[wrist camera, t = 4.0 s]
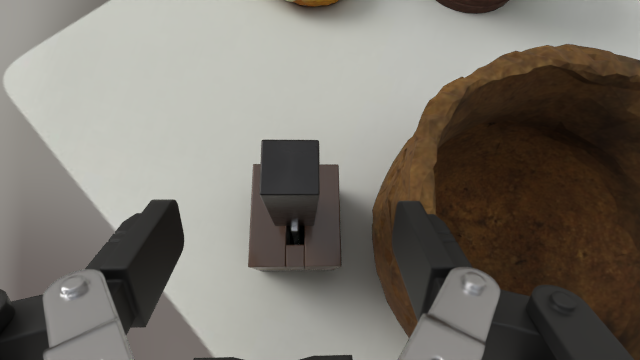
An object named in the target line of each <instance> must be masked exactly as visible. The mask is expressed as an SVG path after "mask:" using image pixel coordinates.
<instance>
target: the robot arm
mask: <svg viewBox="0 0 640 360" xmlns="http://www.w3.org/2000/svg"><path fill="white" fill-rule="evenodd" d="M183 247H184V233H183V228H182V223H181V218H180V213H179V208H178V204H177V202H176V200H151V201H150V203H149V204H148V205H147V207H146V208H145V209H144V210H143V212H142V213H136V214H135V215H133V216H132V217H130V218H129V219H127V220H126V221H124V222H123V223H122V224H121V225H120V227H119V228H118V229H117V230H116V231H115V234H113V235H112V236H111V238H110V239H109V242H107V243H106V244H105V245H104V246H103V247H102V249H101V250H100V251H99V252H98V254H97V255H96V256H95V257H94V259H93V260H92V261H91V262H90V263H89V265H88V266H87V267H86V268H85V270H80V271H75V272H72V273H70V274H67V275H65V276H63V277H61V278H59V279H58V280H56V281H55V282H53V283H52V284H51V285H50V286H49V287H48V288H47V289H46V291H45V292H44V294H43V295H39V296H34V297H30V298H25V299H21V300H16V301H12V302H11V301H10V299H9V298H8V296H7V294H6V292H5V291H3V290H1V289H0V360H135V359H134V357H133V354H132V351H131V348H130V346H129V343H128V340H127V337H126V335H127V333H128V331H129V329H130V328H131V327H146V325H147V323H148V321H149V319H150V317H151V315H152V313H153V311H154V309H155V306H156V304H157V303H158V300H159V298H160V296H161V294H162V292H163V290H164V288H165V286H166V284H167V282H168V280H169V278H170V276H171V274H172V272H173V270H174V268H175V265H176V263H177V261H178V259H179V257H180V255H181V253H182V251H183ZM392 248H393V252H394V255H395V258H396V261H397V264H398V267H399V270H400V272H401V275H402V278H403V281H404V284H405V287H406V290H407V293H408V296H409V298H410V301H411V304H412V307H413V310H414V313H415V316H416V319H417V322H418V323H417V325H416V327H415V329H414V331H413V333H412V335H411V336H410V338H409V340H408V342H407V344H406V346H405V347H404V349H403V351H402V353H401V355H400V357H399V359H398V360H634V358H633V357H632V356H631V355H630V354H629V353H628V351H627V350H626V349H625V348H624V347H623V345H622V344H621V343H620V342H619V341H618V340H617V338H616V337H615V336H614V335H613V334H612V333H611V331H610V330H609V329H608V328H607V327H606V325H605V324H604V323H603V322H602V321H601V320H600V318H599V317H598V316H597V315H596V314H595V312H594V311H593V310H592V309H591V308H590V307H589V305H588V304H587V303H586V302H585V301H584V300H583V299H581V298H580V297H579V296H577V295H576V294H574V293H572V292H571V291H569V290H566V289H564V288H561V287H558V286H554V285H539V286H537V287H535V288H534V290H533V291H532V294H531V296H527V295H523V294H518V293H514V292H509V291H505V290H502V289H500V288H499V285H498V284H497V282H496V281H495V280H494V279H493V278H492V277H491V276H489V275H488V274H486V273H485V272H483V271H481V270H478V269H475V268H473V267H472V265H471V264H470V262H469V260H468V259H467V257H466V256H465V254H464V252H463V251H462V249H461V248H460V246H459V244H458V243H457V242H456V239H455V238H454V236H453V235H452V234H451V231H450V230H449V228H448V227H447V225H446V223H445V222H444V221H442V220H441V219H440V218H439V217H437V216H436V215H435V214H427V212H426V211H425V209H424V207H423V205H422V204H421V202H420V201H398V203H397V207H396V213H395V219H394V226H393V232H392ZM194 360H243V359H238V358H234V357H224V358H194ZM300 360H352V355H332V356H311V357H308V358H304V359H300Z"/></svg>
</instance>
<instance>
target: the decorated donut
mask: <svg viewBox="0 0 640 360" xmlns="http://www.w3.org/2000/svg"><path fill="white" fill-rule="evenodd" d="M286 1H289V2H291V1H292V2H295V3H297V4H299V5H306V6H312V7H314V6H319V5H330V4H331V3H336V2H337V1H338V0H286Z"/></svg>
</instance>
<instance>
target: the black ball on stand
mask: <svg viewBox="0 0 640 360" xmlns="http://www.w3.org/2000/svg"><path fill="white" fill-rule="evenodd" d="M436 1H438V2H439V3H441V4H443V5H444V6H446V7H449V8H451V9H454V10H457V11H461V12H465V13H485V12H489V11H493V10H496V9H498V8H499V7H501V6H503V5H504V4H505V3H507V2H508V1H509V0H436Z"/></svg>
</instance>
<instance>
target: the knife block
mask: <svg viewBox="0 0 640 360" xmlns="http://www.w3.org/2000/svg"><path fill="white" fill-rule="evenodd" d="M260 167H261V164H254V165H253V177H252V198H251V218H250V239H249V260H248V267H250V268H253V269H257V270H260V271H285V270H334V269H336V268H338V267H340V266H341V235H340V200H339V166H338V165H319V173H320V195H319V201H318V207H317V212H316V218H315V224H314V226H304V245H290V226H275V225H274V223H273V221H272V219H271V217H270V215H269V213H268V211H267V208H266V206H265V204H264V202H263V200H262V198H261V196H260V194H259V191H260Z"/></svg>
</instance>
